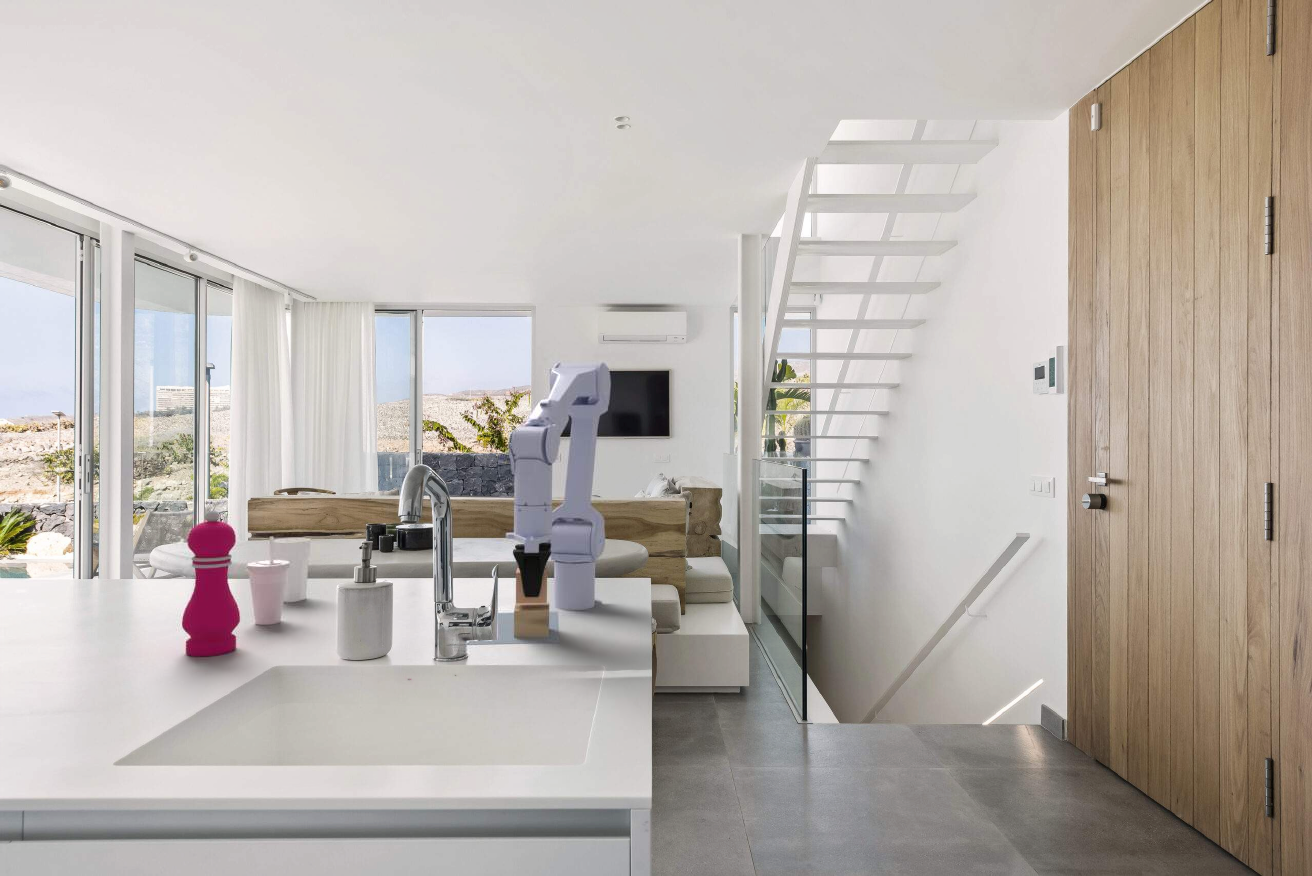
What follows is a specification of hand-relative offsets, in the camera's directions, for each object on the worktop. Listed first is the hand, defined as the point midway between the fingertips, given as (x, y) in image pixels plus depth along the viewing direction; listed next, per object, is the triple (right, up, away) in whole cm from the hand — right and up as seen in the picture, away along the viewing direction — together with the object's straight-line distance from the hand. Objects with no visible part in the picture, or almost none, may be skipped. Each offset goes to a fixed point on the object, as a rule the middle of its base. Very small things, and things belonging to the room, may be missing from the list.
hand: (532, 593), depth 123 cm
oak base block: (0, -6, 0) cm, 6 cm away
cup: (-49, -6, +26) cm, 56 cm away
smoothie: (-44, -7, +8) cm, 46 cm away
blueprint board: (-5, -7, +3) cm, 9 cm away
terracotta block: (0, -1, 0) cm, 1 cm away
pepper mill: (-44, -7, -9) cm, 46 cm away
